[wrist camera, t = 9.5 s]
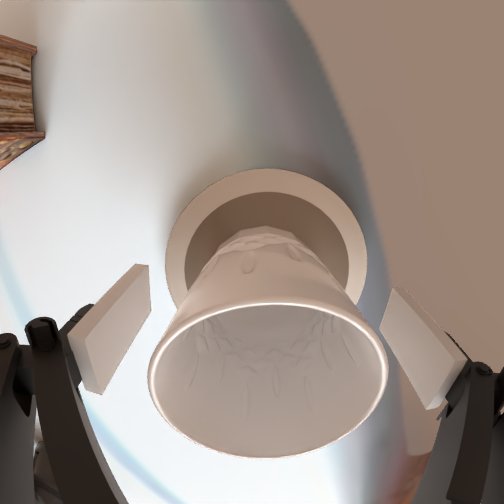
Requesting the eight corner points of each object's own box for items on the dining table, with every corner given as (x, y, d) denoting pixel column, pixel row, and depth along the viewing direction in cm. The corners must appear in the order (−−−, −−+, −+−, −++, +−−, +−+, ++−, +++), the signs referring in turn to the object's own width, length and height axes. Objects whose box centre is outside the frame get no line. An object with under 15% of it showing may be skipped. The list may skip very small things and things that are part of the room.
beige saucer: (173, 335, 21) (168, 347, 19) (174, 161, 17) (167, 161, 15) (336, 348, 21) (341, 360, 20) (374, 183, 17) (384, 186, 15)
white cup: (190, 315, 18) (146, 436, 9) (215, 199, 16) (157, 261, 6) (301, 340, 19) (327, 463, 9) (343, 235, 16) (430, 325, 7)
